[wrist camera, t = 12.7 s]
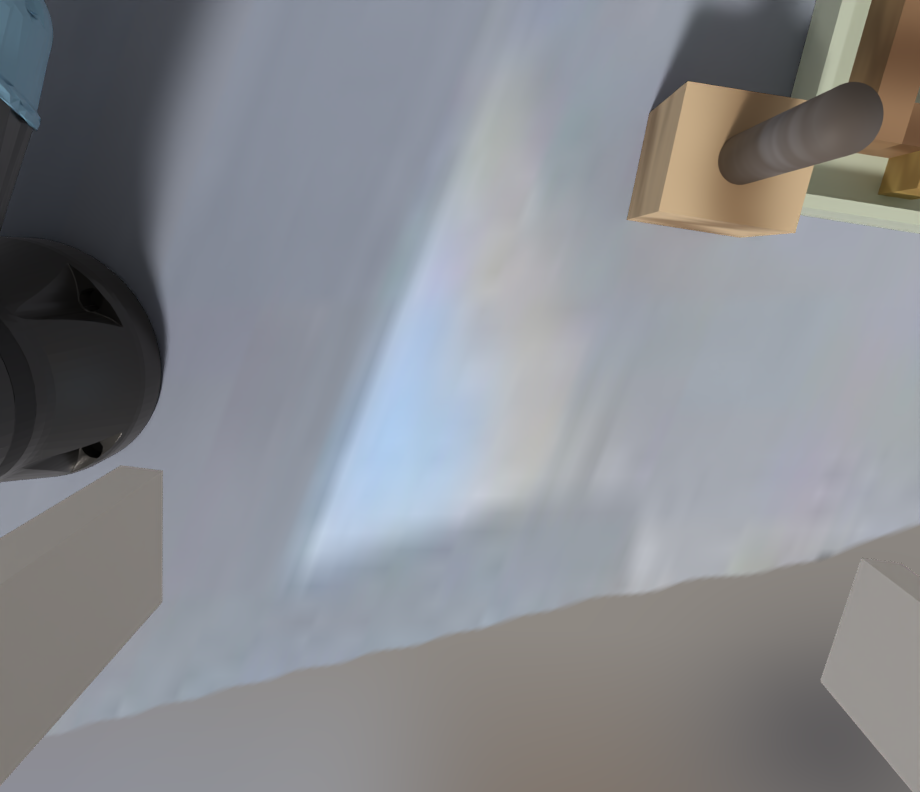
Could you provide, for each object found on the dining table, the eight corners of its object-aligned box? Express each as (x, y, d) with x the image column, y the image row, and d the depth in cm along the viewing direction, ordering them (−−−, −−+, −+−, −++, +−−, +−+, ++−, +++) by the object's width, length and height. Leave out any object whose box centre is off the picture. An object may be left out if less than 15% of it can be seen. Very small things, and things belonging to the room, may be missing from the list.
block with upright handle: (626, 219, 34) (728, 192, 21) (649, 113, 33) (775, 8, 19) (740, 237, 34) (916, 222, 21) (767, 131, 33) (976, 40, 19)
